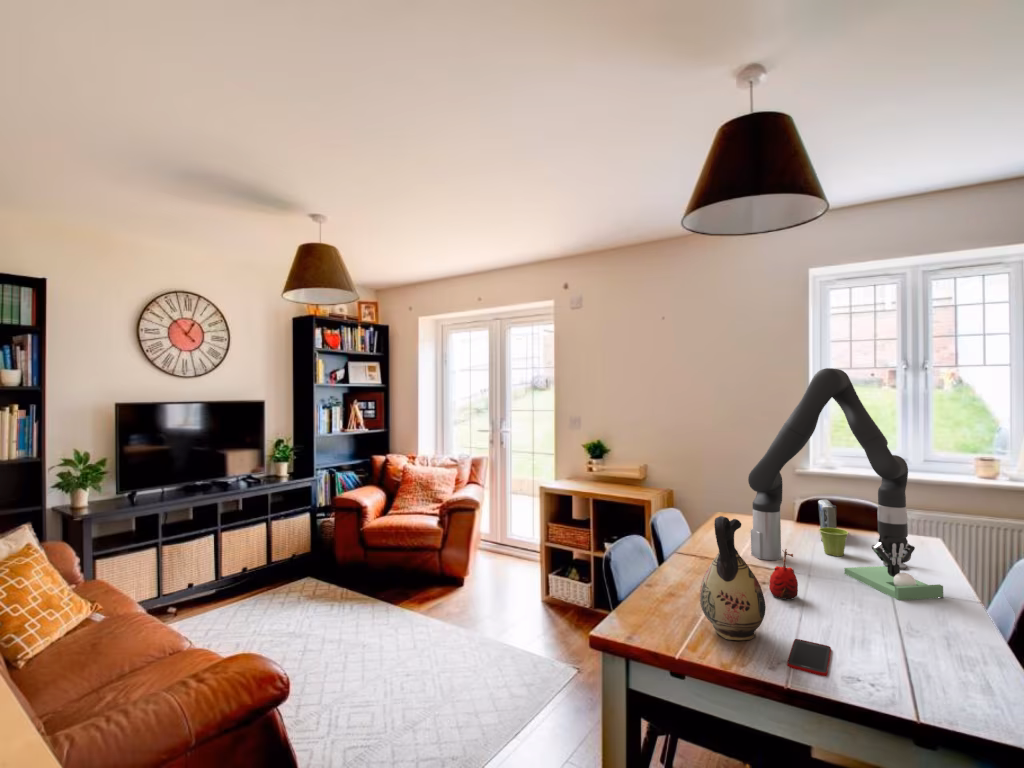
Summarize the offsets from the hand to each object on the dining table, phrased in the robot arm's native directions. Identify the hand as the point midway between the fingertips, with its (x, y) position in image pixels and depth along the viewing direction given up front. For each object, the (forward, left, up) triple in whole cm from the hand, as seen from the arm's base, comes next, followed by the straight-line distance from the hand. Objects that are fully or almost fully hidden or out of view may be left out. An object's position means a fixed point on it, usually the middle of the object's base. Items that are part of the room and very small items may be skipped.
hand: (893, 575), depth 161 cm
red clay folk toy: (-38, -4, -4) cm, 38 cm away
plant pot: (+4, +32, -4) cm, 33 cm away
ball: (0, -4, 0) cm, 4 cm away
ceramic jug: (-65, -25, -4) cm, 70 cm away
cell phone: (-53, -38, -4) cm, 65 cm away
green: (0, +1, -3) cm, 4 cm away
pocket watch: (+16, +17, -4) cm, 24 cm away
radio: (+17, +55, -4) cm, 58 cm away
